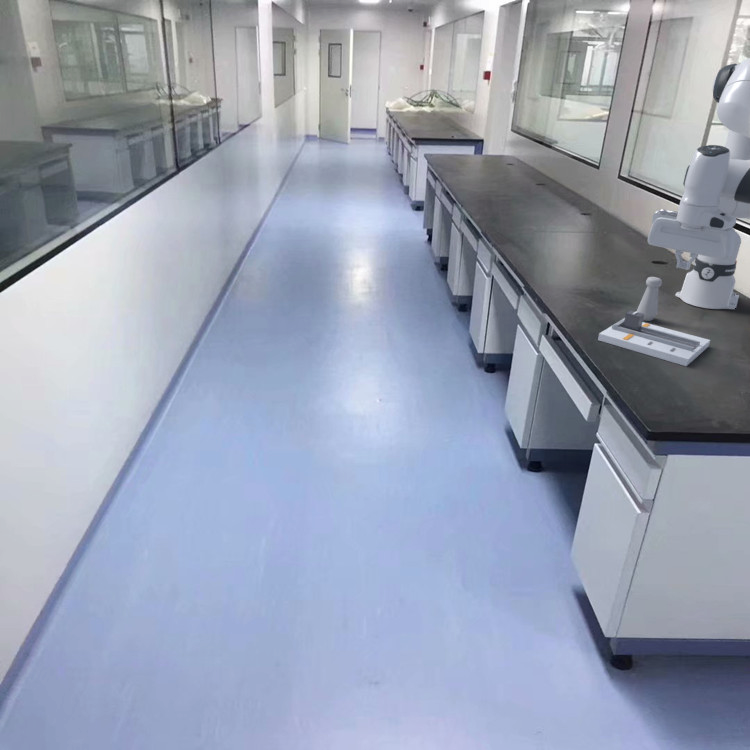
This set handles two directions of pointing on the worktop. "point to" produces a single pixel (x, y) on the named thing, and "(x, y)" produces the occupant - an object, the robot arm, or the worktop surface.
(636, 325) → the fader tab
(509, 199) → the worktop surface
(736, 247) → the robot arm
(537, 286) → the worktop surface
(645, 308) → the salt shaker
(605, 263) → the worktop surface
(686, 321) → the worktop surface
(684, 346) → the console
